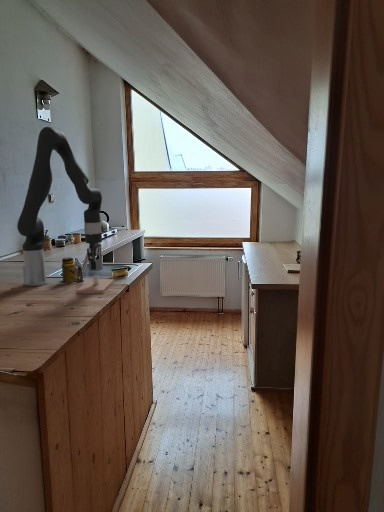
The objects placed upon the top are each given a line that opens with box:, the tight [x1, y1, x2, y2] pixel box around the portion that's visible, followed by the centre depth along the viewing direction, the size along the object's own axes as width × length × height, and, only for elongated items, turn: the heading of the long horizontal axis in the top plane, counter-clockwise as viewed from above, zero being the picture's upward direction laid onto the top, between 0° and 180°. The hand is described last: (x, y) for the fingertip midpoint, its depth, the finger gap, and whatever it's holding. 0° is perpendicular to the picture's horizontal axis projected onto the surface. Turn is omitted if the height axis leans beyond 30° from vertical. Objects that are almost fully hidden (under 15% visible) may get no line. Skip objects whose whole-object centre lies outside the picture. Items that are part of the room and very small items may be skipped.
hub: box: [87, 257, 104, 272], centre depth 167 cm, size 6×6×5 cm
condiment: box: [57, 257, 76, 285], centre depth 179 cm, size 7×8×12 cm
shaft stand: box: [76, 273, 115, 294], centre depth 169 cm, size 12×19×6 cm, turn 178°
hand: (95, 267), depth 168 cm, fingers closed on hub, 6 cm apart
